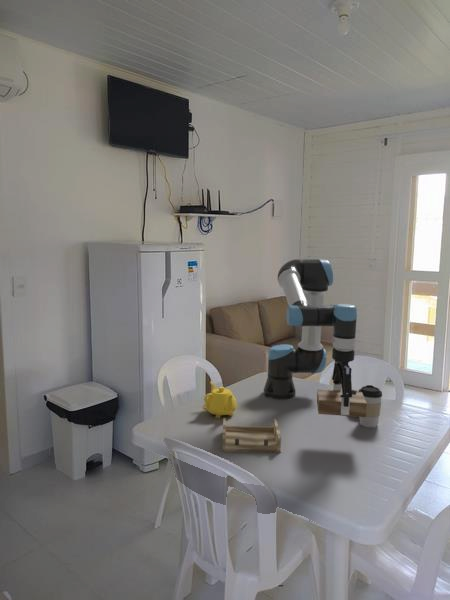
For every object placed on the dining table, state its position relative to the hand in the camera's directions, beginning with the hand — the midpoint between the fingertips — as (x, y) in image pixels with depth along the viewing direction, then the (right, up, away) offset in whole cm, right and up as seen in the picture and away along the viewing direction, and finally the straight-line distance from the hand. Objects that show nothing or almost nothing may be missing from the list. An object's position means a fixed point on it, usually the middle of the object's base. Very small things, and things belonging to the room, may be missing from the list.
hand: (340, 407), depth 160 cm
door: (0, -1, 0) cm, 1 cm away
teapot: (-44, -10, +28) cm, 53 cm away
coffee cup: (+16, -11, +19) cm, 27 cm away
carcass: (-32, -13, +2) cm, 35 cm away
